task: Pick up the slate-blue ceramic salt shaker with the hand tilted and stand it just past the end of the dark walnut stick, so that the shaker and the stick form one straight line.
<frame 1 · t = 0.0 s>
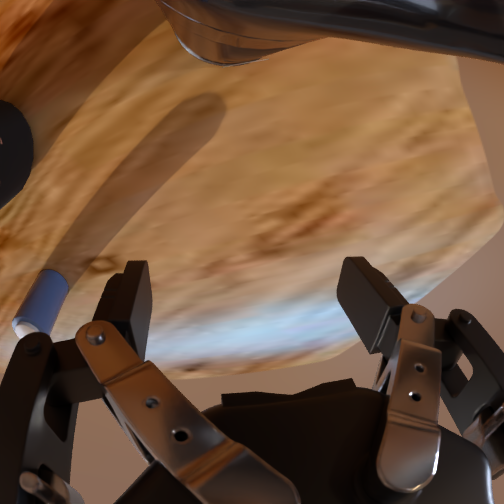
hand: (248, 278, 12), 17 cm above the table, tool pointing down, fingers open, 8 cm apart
salt shaker: (52, 284, 30), on the table
coffee jar: (0, 148, 21), on the table
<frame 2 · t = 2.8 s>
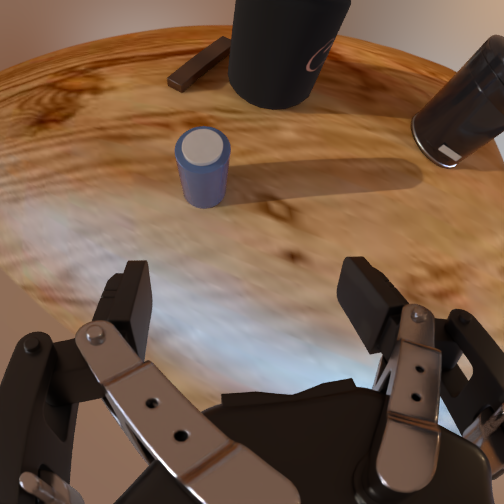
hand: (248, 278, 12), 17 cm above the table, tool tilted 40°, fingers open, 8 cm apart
walnut stick: (203, 65, 34), on the table
salt shaker: (204, 188, 31), on the table
coffee jar: (269, 83, 35), on the table
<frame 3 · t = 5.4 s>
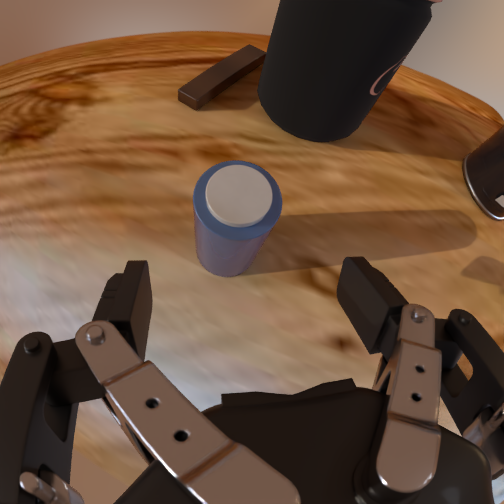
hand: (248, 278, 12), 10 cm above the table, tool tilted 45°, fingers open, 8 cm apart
walnut stick: (224, 78, 28), on the table
salt shaker: (226, 247, 22), on the table
coffee jar: (307, 107, 28), on the table
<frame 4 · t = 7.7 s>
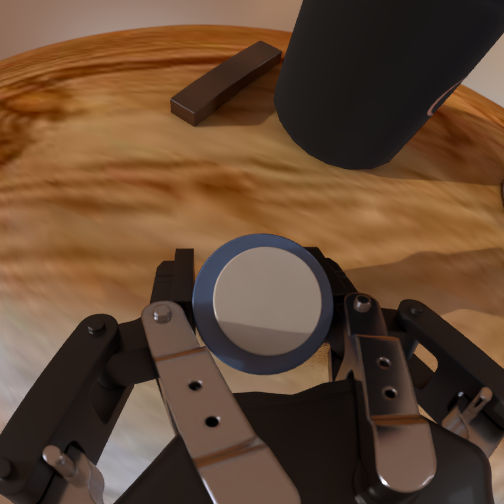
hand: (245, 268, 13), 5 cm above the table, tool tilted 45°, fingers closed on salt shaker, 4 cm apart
walnut stick: (230, 83, 22), on the table
salt shaker: (237, 321, 17), on the table, touching gripper
coffee jar: (334, 122, 22), on the table
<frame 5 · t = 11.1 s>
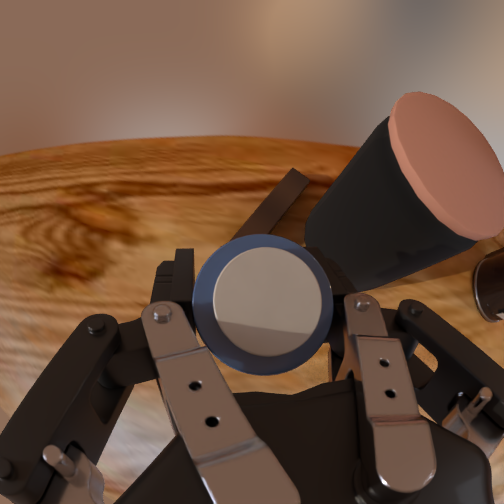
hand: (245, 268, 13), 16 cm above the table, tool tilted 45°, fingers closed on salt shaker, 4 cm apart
walnut stick: (269, 214, 31), on the table
salt shaker: (237, 321, 17), point 11 cm above the table, touching gripper
coffee jar: (346, 245, 32), on the table
when the fingers open (5 cm above the table, at t = 15.0 s): salt shaker stays where it is, on the table.
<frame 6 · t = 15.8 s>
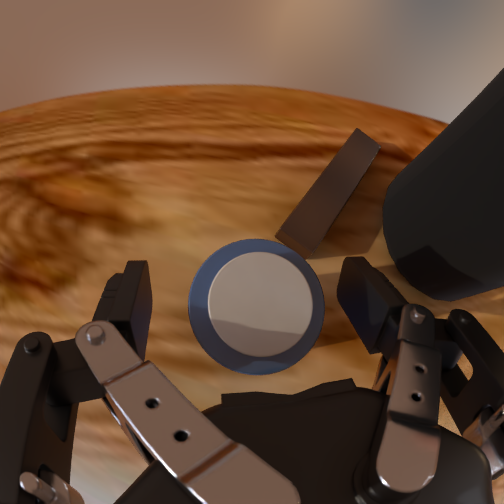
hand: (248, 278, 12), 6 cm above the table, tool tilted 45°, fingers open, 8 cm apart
walnut stick: (331, 190, 21), on the table
salt shaker: (234, 322, 17), on the table
coffee jar: (428, 237, 21), on the table
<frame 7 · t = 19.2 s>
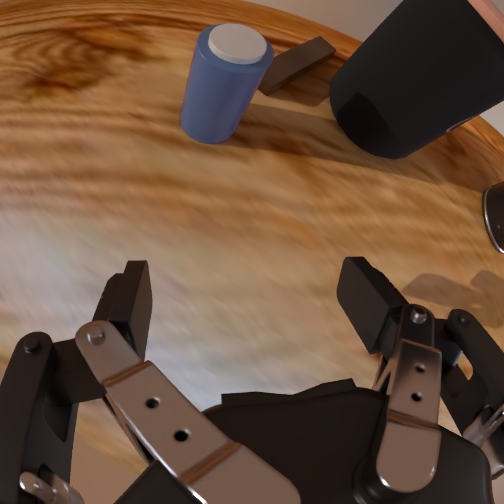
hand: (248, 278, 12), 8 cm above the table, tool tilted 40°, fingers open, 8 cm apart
walnut stick: (293, 66, 25), on the table
salt shaker: (208, 119, 21), on the table
coffee jar: (368, 117, 27), on the table
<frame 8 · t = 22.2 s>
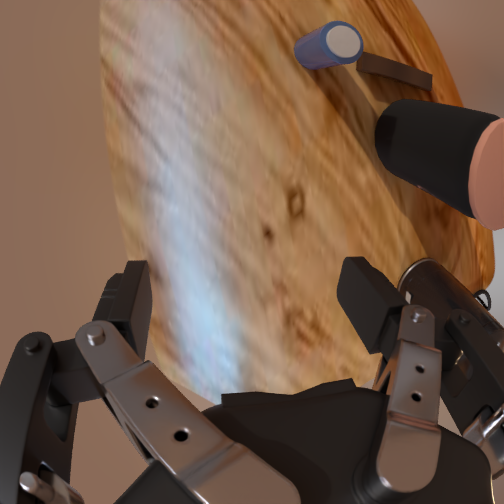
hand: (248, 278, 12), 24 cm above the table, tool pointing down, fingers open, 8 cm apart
walnut stick: (393, 71, 30), on the table
salt shaker: (312, 52, 28), on the table
coffee jar: (402, 136, 35), on the table
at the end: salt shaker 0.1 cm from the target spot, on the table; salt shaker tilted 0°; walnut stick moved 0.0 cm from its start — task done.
